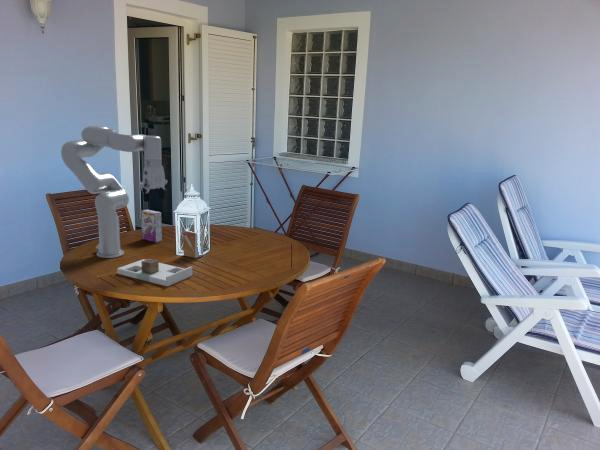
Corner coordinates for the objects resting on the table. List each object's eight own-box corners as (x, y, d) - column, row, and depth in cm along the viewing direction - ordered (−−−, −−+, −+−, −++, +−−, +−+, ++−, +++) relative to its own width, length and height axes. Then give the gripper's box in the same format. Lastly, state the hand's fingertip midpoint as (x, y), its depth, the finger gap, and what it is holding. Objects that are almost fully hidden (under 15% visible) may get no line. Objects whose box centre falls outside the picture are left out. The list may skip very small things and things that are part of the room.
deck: (117, 273, 216) (117, 264, 215) (143, 264, 230) (143, 255, 229) (167, 286, 204) (167, 277, 203) (192, 275, 218) (192, 266, 217)
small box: (182, 255, 246) (182, 230, 243) (191, 252, 251) (191, 228, 248) (195, 258, 242) (195, 233, 239) (203, 255, 247) (203, 230, 244)
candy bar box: (141, 239, 271) (140, 210, 267) (148, 237, 275) (147, 209, 271) (155, 243, 265) (154, 213, 261) (162, 241, 269) (161, 212, 265)
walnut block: (141, 272, 212) (141, 261, 211) (150, 269, 216) (149, 258, 215) (150, 274, 210) (150, 263, 209) (158, 271, 214) (158, 260, 213)
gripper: (145, 165, 214) (146, 203, 218) (172, 162, 229) (173, 198, 233) (132, 164, 217) (134, 201, 221) (160, 161, 232) (161, 196, 236)
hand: (154, 199), depth 227 cm, fingers open, 9 cm apart
